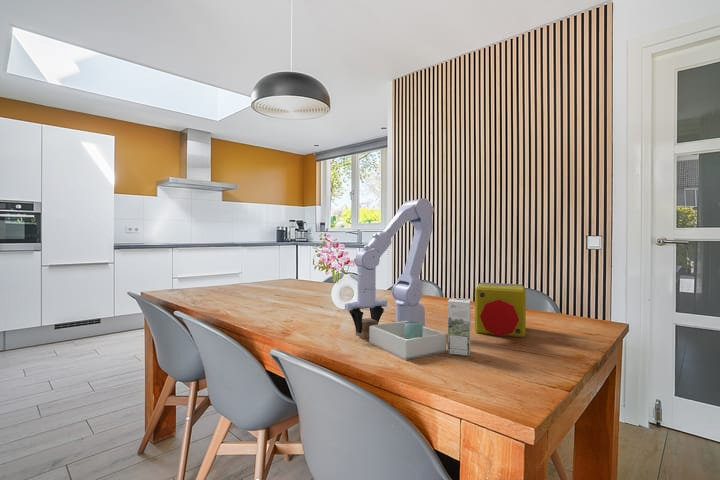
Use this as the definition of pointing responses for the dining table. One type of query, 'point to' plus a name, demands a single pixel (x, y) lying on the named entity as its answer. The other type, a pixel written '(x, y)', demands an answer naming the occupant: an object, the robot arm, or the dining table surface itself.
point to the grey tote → (406, 341)
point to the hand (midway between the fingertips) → (366, 331)
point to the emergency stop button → (500, 309)
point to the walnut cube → (366, 327)
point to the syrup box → (459, 326)
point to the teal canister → (413, 330)
